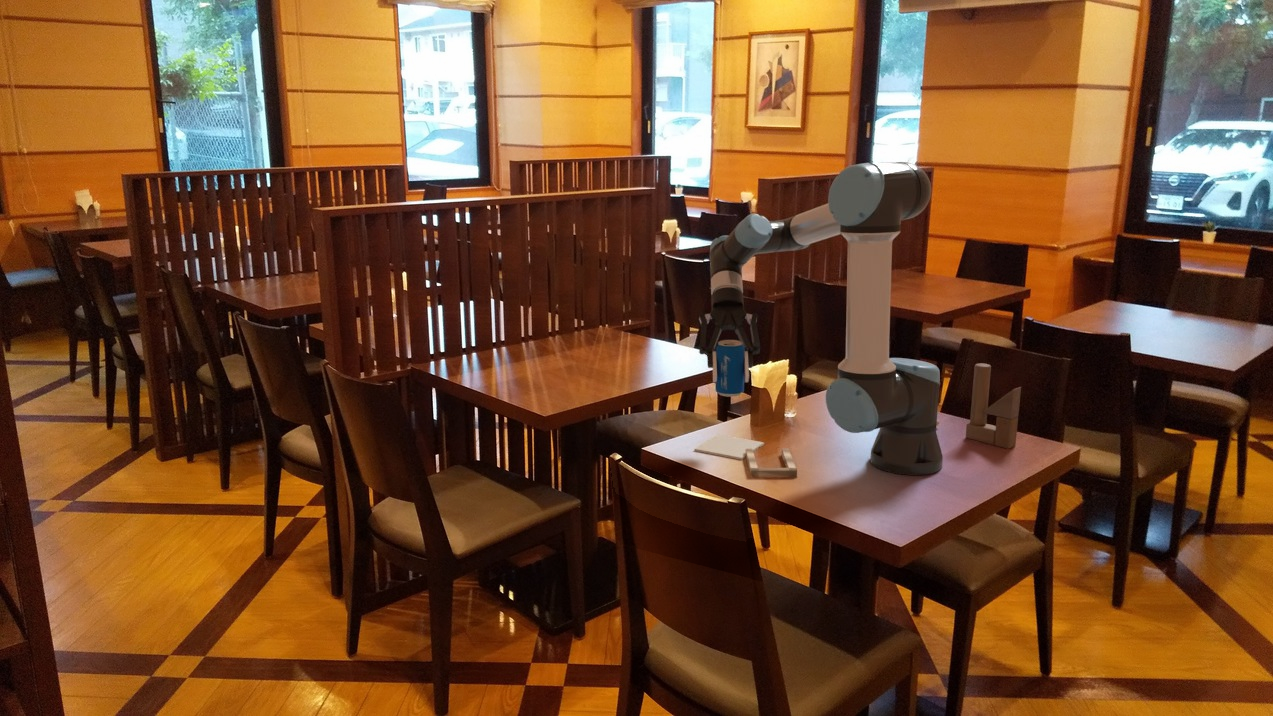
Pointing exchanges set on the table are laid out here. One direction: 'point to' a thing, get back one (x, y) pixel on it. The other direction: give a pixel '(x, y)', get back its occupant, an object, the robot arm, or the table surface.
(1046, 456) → the table surface
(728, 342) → the beverage can
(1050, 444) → the table surface
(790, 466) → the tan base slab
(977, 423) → the wooden block
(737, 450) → the mat
